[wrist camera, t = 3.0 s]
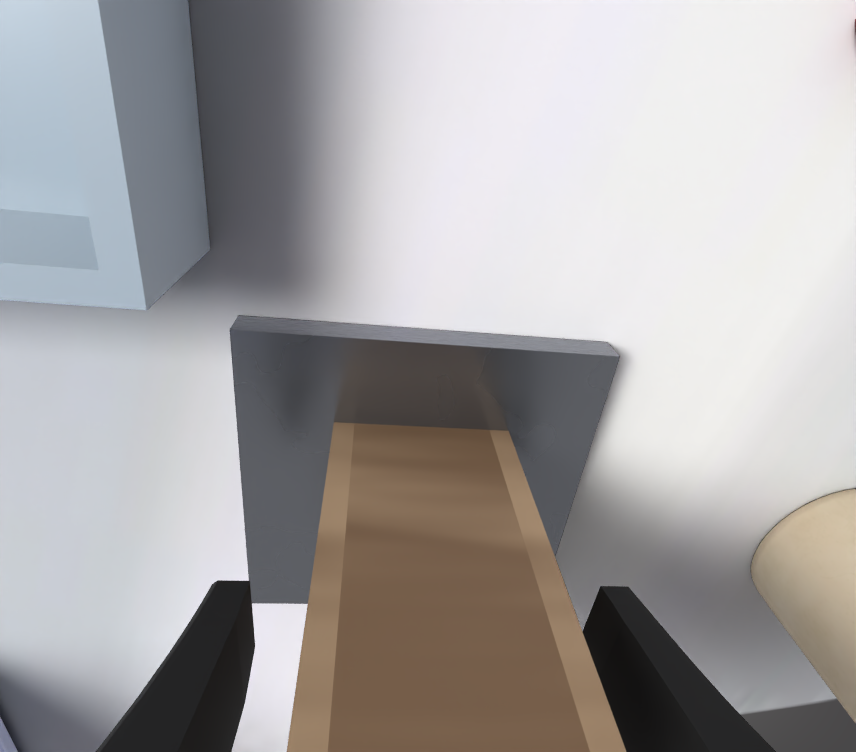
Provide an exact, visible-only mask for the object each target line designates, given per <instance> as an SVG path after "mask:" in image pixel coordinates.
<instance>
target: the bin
mask: <svg viewBox="0 0 856 752" xmlns="http://www.w3.org/2000/svg"><path fill="white" fill-rule="evenodd" d="M209 250H210V240H209V229H208V218H207V207H206V195H205V184H204V173H203V162H202V151H201V139H200V128H199V117H198V106H197V95H196V83H195V72H194V61H193V50H192V39H191V27H190V16H189V5H188V0H0V300H9V301H23V302H37V303H51V304H65V305H79V306H93V307H107V308H121V309H134V310H148V309H149V308H150V307H151V306H152V305H153V304H154V303H155V302H156V301H157V300H158V299H159V298H160V297H161V296H162V295H163V294H164V293H165V292H166V291H167V290H169V289H170V288H171V287H172V286H173V285H174V284H175V283H176V282H177V281H178V280H179V279H180V278H181V277H182V276H183V275H184V274H185V273H186V272H187V271H188V270H189V269H191V268H192V267H193V266H194V265H195V264H196V263H197V262H198V261H199V260H200V259H201V258H202V257H203V256H204V255H205V254H206V253H207V252H208V251H209Z"/></svg>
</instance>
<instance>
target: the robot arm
mask: <svg viewBox="0 0 856 752" xmlns="http://www.w3.org/2000/svg"><path fill="white" fill-rule="evenodd" d="M583 635H584V637H585V640H586V643H587V646H588V648H589V651H590V654H591V657H592V659H593V662H594V665H595V667H596V670H597V673H598V676H599V678H600V681H601V684H602V686H603V689H604V692H605V695H606V697H607V700H608V703H609V706H610V708H611V711H612V714H613V716H614V719H615V722H616V725H617V727H618V730H619V733H620V735H621V738H622V741H623V744H624V746H625V749H626V752H776V751H775V750H774V749H773V748H772V747H771V746H770V745H769V744H768V743H767V742H766V741H765V740H764V739H763V738H762V737H761V736H760V735H759V734H758V733H757V732H756V731H755V730H754V729H753V728H752V727H751V726H750V725H749V724H748V722H747V721H745V719H744V718H743V717H742V716H741V715H740V714H739V713H738V712H737V711H736V710H735V709H734V708H733V707H732V706H731V704H730V703H729V702H728V701H727V700H726V699H725V698H724V697H723V696H722V695H721V694H720V692H719V691H718V690H717V689H716V688H715V687H714V686H713V685H712V684H711V682H710V681H709V680H708V679H707V678H706V677H705V676H704V675H703V673H702V672H701V671H700V670H699V669H698V668H697V667H696V666H695V664H694V663H693V662H692V661H691V660H690V659H689V658H688V656H687V655H686V654H685V653H684V652H683V651H682V649H681V648H680V647H679V646H678V645H677V644H676V642H675V641H674V640H673V639H672V638H671V637H670V635H669V634H668V633H667V632H666V631H665V630H664V628H663V627H662V626H661V625H660V624H659V623H658V621H657V620H656V619H655V618H654V617H653V615H652V614H651V613H650V612H649V611H648V610H647V608H646V607H645V606H644V605H643V604H642V602H641V601H640V600H639V599H638V598H637V597H636V595H635V594H634V593H633V592H632V591H631V590H630V588H629V587H616V586H601V587H600V589H599V592H598V594H597V597H596V599H595V602H594V604H593V607H592V609H591V612H590V614H589V617H588V619H587V622H586V624H585V627H584V629H583ZM254 649H255V640H254V627H253V614H252V601H251V588H250V581H216V582H215V583H214V584H212V586H211V587H210V589H209V591H208V593H207V594H206V596H205V598H204V600H203V601H202V603H201V604H200V606H199V608H198V609H197V611H196V613H195V614H194V616H193V617H192V619H191V621H190V622H189V624H188V625H187V627H186V628H185V630H184V631H183V633H182V635H181V636H180V638H179V639H178V641H177V642H176V644H175V645H174V647H173V648H172V650H171V651H170V652H169V654H168V655H167V657H166V658H165V660H164V661H163V662H162V664H161V665H160V667H159V668H158V670H157V671H156V672H155V674H154V675H153V677H152V678H151V679H150V681H149V682H148V684H147V685H146V686H145V688H144V689H143V691H142V692H141V693H140V695H139V696H138V698H137V699H136V700H135V702H134V703H133V704H132V706H131V707H130V708H129V710H128V711H127V712H126V713H125V715H124V716H123V717H122V719H121V720H120V721H119V722H118V724H117V725H116V726H115V728H114V729H113V730H112V732H111V733H110V734H109V735H108V737H107V738H106V739H105V741H104V742H103V743H102V744H101V746H100V747H99V748H98V750H97V751H96V752H231V750H232V747H233V743H234V740H235V736H236V733H237V729H238V725H239V722H240V718H241V715H242V711H243V707H244V704H245V698H246V693H247V688H248V683H249V677H250V672H251V666H252V660H253V655H254ZM0 752H18V751H17V749H16V747H15V745H14V743H13V741H12V739H11V737H10V735H9V733H8V731H7V729H6V727H5V725H4V723H3V721H2V719H1V717H0Z"/></svg>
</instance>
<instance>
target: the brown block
mask: <svg viewBox="0 0 856 752" xmlns="http://www.w3.org/2000/svg"><path fill="white" fill-rule="evenodd" d="M287 752H626V749H625V746H624V744H623V741H622V738H621V735H620V733H619V730H618V727H617V725H616V722H615V719H614V716H613V714H612V711H611V708H610V706H609V703H608V700H607V697H606V695H605V692H604V689H603V686H602V684H601V681H600V678H599V676H598V673H597V670H596V667H595V665H594V662H593V659H592V657H591V654H590V651H589V648H588V646H587V643H586V640H585V637H584V635H583V632H582V629H581V627H580V624H579V621H578V618H577V616H576V613H575V610H574V608H573V605H572V602H571V599H570V597H569V594H568V591H567V589H566V586H565V583H564V580H563V578H562V575H561V572H560V569H559V567H558V564H557V561H556V559H555V556H554V553H553V550H552V548H551V545H550V542H549V540H548V537H547V534H546V531H545V529H544V526H543V523H542V520H541V518H540V515H539V512H538V510H537V507H536V504H535V501H534V499H533V496H532V493H531V491H530V488H529V485H528V482H527V480H526V477H525V474H524V471H523V469H522V466H521V463H520V461H519V458H518V455H517V452H516V450H515V447H514V444H513V442H512V439H511V436H510V433H509V431H502V430H481V429H461V428H440V427H420V426H399V425H379V424H358V423H338V422H334V425H333V432H332V439H331V446H330V453H329V460H328V467H327V474H326V481H325V488H324V495H323V502H322V509H321V516H320V523H319V530H318V537H317V544H316V551H315V558H314V565H313V572H312V579H311V586H310V593H309V600H308V607H307V614H306V621H305V628H304V634H303V641H302V648H301V655H300V662H299V669H298V676H297V683H296V690H295V697H294V704H293V711H292V718H291V725H290V732H289V739H288V746H287Z"/></svg>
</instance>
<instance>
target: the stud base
mask: <svg viewBox="0 0 856 752" xmlns="http://www.w3.org/2000/svg"><path fill="white" fill-rule="evenodd" d="M230 340H231V353H232V366H233V379H234V392H235V405H236V418H237V431H238V444H239V457H240V470H241V483H242V496H243V509H244V522H245V535H246V548H247V561H248V574H249V581H250V588H251V601H252V603H294V604H308V600H309V593H310V586H311V579H312V572H313V565H314V558H315V551H316V544H317V537H318V530H319V523H320V516H321V509H322V502H323V495H324V488H325V481H326V474H327V467H328V460H329V453H330V446H331V439H332V432H333V425H334V422H338V423H358V424H379V425H399V426H420V427H440V428H461V429H481V430H502V431H509V433H510V436H511V439H512V442H513V444H514V447H515V450H516V452H517V455H518V458H519V461H520V463H521V466H522V469H523V471H524V474H525V477H526V480H527V482H528V485H529V488H530V491H531V493H532V496H533V499H534V501H535V504H536V507H537V510H538V512H539V515H540V518H541V520H542V523H543V526H544V529H545V531H546V534H547V537H548V540H549V542H550V545H551V548H552V550H553V553H554V556H555V555H556V552H557V549H558V546H559V543H560V540H561V537H562V534H563V531H564V527H565V524H566V521H567V518H568V515H569V512H570V509H571V506H572V503H573V500H574V497H575V493H576V490H577V487H578V484H579V481H580V478H581V475H582V472H583V469H584V466H585V463H586V459H587V456H588V453H589V450H590V447H591V444H592V441H593V438H594V435H595V432H596V429H597V425H598V422H599V419H600V416H601V413H602V410H603V407H604V404H605V401H606V398H607V395H608V391H609V388H610V385H611V382H612V379H613V376H614V373H615V370H616V367H617V364H618V361H619V357H620V356H619V355H618V354H617V353H616V352H615V350H614V349H613V348H612V347H611V346H610V345H609V344H608V342H599V341H585V340H571V339H557V338H543V337H529V336H516V335H502V334H488V333H474V332H460V331H446V330H432V329H418V328H404V327H391V326H377V325H363V324H349V323H335V322H321V321H307V320H293V319H280V318H266V317H252V316H238V317H237V319H236V320H235V322H234V324H233V325H232V327H231V328H230Z"/></svg>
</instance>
